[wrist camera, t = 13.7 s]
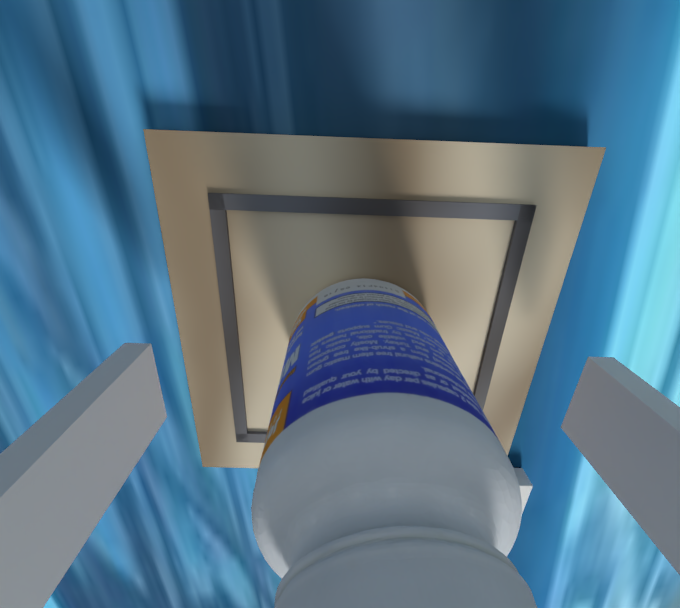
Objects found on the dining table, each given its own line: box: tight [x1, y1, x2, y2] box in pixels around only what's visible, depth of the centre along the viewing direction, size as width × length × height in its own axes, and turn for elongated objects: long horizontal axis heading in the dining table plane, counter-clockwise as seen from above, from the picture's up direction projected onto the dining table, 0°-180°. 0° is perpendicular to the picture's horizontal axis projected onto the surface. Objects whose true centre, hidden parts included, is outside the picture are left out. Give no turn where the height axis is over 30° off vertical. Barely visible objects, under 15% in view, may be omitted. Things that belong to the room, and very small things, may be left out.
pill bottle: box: [251, 278, 537, 608], centre depth 9 cm, size 5×5×10 cm
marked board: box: [143, 129, 606, 468], centre depth 13 cm, size 14×14×1 cm
